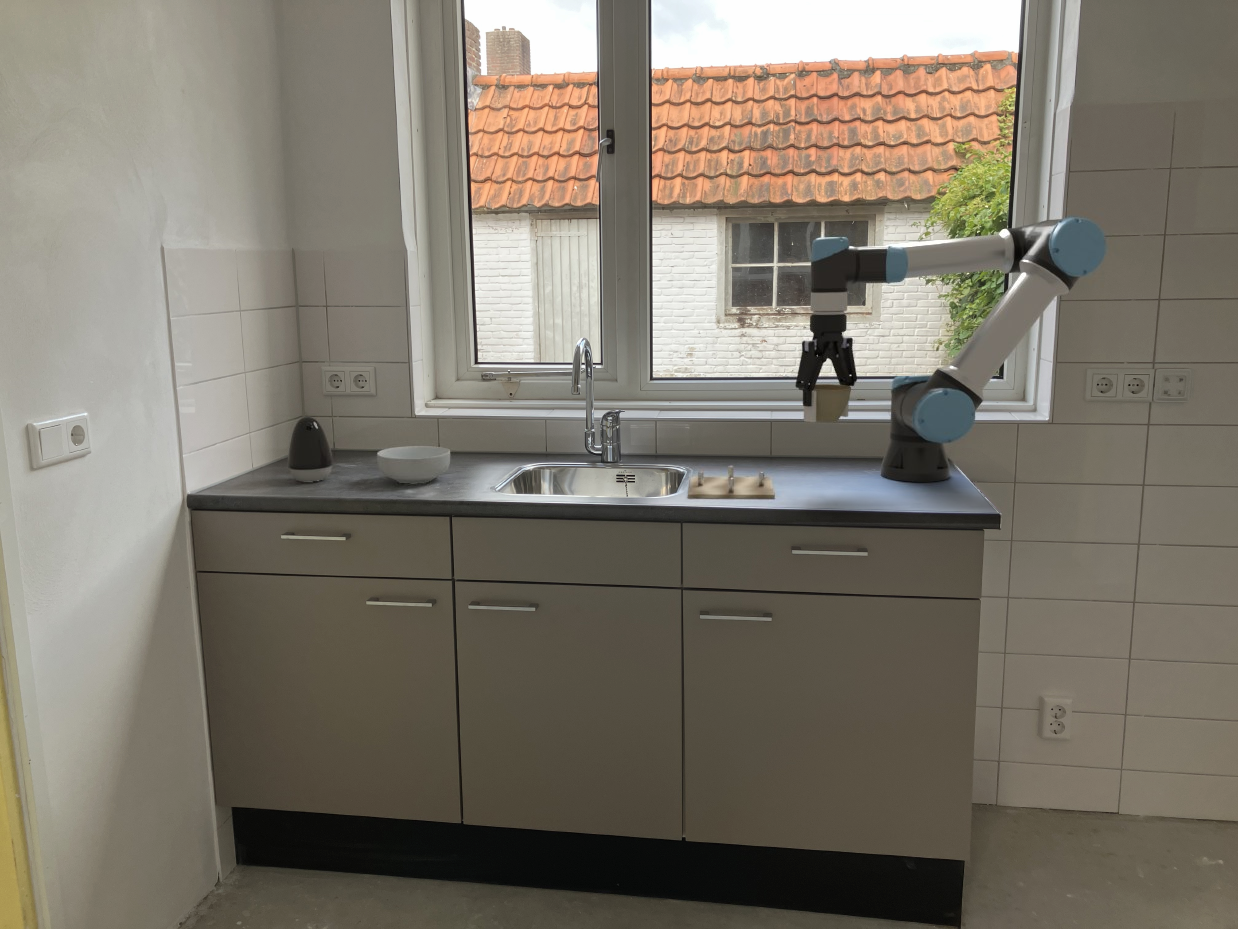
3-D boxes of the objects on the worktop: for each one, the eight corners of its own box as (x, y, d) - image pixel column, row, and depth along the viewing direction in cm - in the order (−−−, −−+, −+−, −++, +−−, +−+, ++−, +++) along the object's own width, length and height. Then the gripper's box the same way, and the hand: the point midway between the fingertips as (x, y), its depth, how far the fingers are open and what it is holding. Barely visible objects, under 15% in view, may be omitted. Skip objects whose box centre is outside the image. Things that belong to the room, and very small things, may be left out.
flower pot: (813, 424, 208) (813, 390, 206) (795, 417, 217) (796, 385, 216) (858, 422, 210) (859, 388, 208) (838, 415, 219) (839, 383, 218)
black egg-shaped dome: (291, 486, 230) (285, 421, 227) (287, 478, 239) (282, 415, 236) (336, 482, 233) (332, 417, 231) (331, 474, 243) (327, 412, 240)
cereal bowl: (435, 490, 224) (433, 458, 223) (366, 487, 227) (364, 457, 226) (462, 474, 240) (460, 445, 239) (397, 472, 244) (395, 444, 242)
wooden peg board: (770, 480, 227) (770, 464, 227) (774, 498, 210) (774, 480, 209) (691, 480, 229) (690, 463, 229) (688, 498, 212) (688, 480, 211)
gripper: (848, 310, 219) (845, 411, 223) (778, 315, 205) (777, 422, 209) (876, 311, 213) (873, 414, 218) (806, 315, 199) (804, 426, 204)
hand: (826, 418), depth 214 cm, fingers closed on flower pot, 10 cm apart
